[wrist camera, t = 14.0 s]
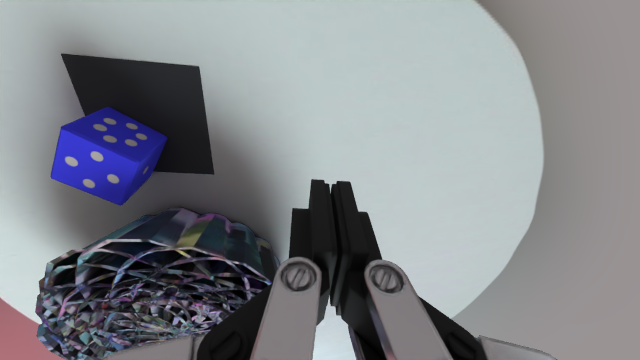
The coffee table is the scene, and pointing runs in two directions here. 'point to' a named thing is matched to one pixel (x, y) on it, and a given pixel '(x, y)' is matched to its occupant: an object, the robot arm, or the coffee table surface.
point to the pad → (150, 104)
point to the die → (107, 155)
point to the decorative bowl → (150, 283)
